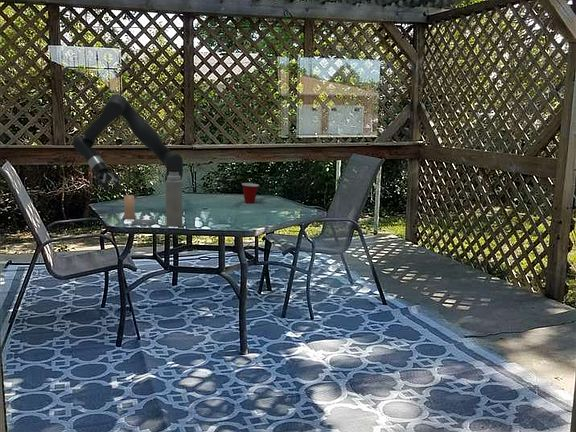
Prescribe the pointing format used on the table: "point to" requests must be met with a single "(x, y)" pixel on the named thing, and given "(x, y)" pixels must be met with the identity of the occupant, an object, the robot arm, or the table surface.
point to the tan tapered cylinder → (129, 207)
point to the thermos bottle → (173, 199)
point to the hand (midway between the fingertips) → (113, 189)
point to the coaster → (143, 222)
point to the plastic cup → (249, 192)
